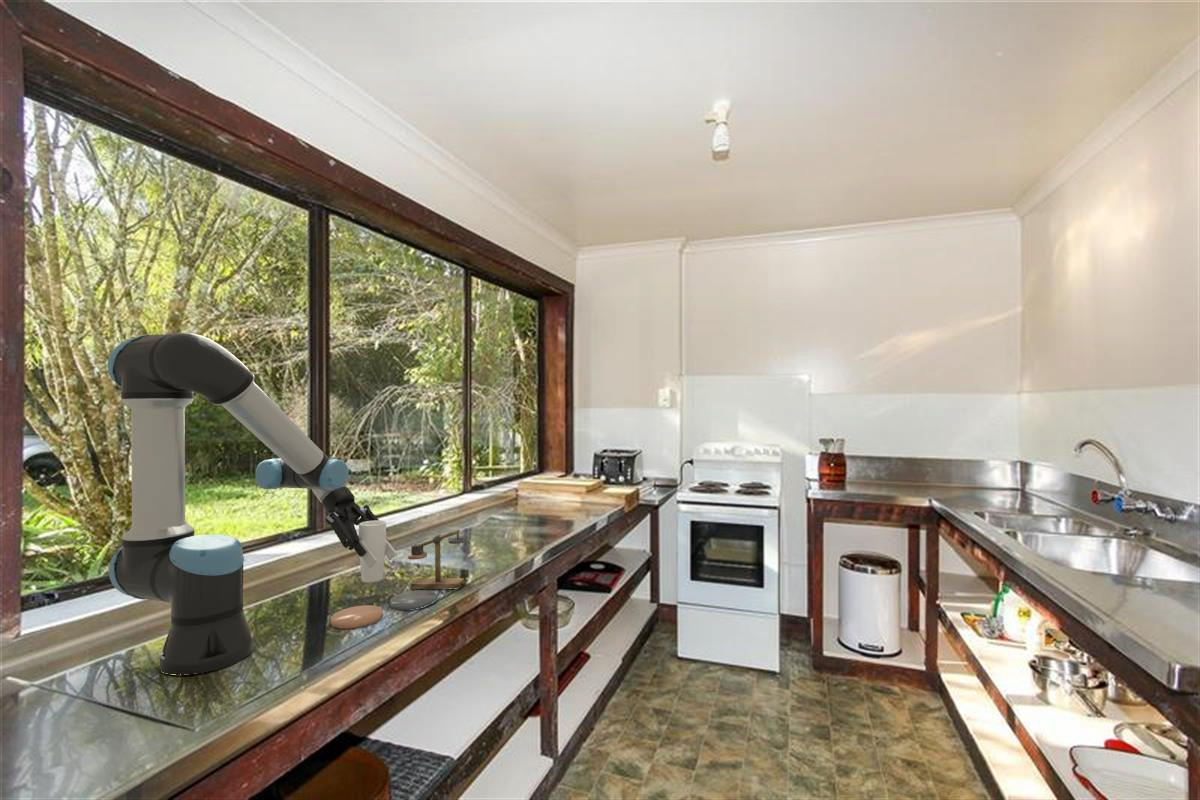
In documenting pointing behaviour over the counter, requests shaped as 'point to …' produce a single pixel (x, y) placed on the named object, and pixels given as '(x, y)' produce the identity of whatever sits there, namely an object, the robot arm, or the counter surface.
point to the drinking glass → (373, 549)
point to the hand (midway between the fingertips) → (383, 560)
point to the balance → (436, 563)
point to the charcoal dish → (412, 599)
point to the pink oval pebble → (356, 617)
